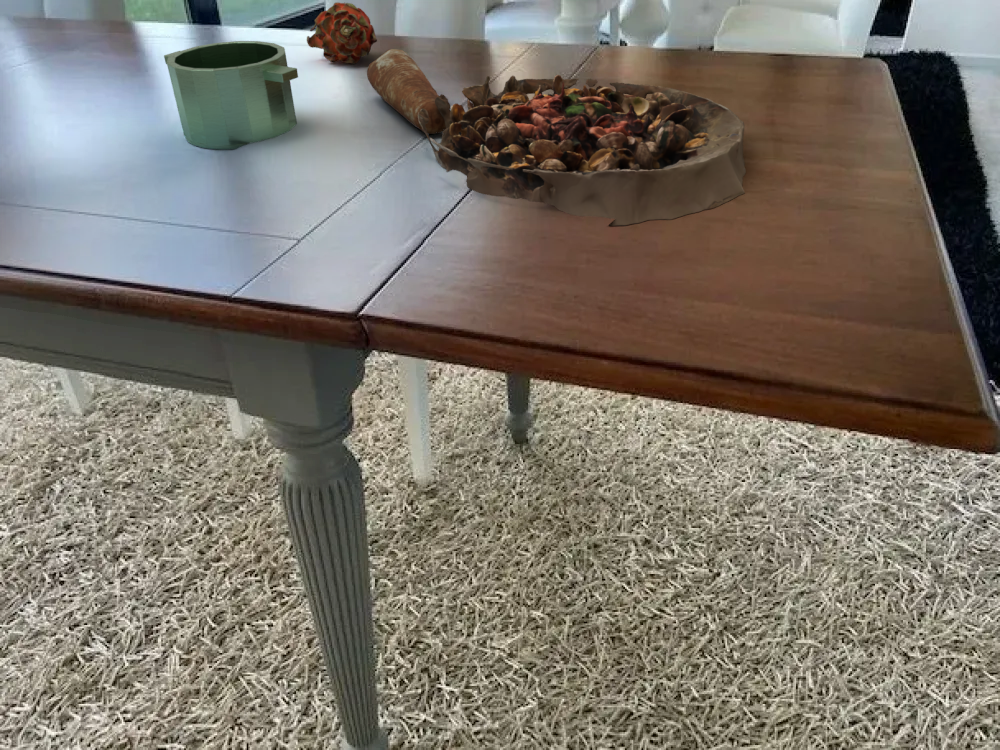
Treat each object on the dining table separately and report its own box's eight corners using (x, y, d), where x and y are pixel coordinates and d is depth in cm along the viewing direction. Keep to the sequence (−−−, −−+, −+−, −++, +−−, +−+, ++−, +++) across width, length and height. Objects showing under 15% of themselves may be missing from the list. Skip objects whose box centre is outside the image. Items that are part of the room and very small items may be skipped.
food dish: (387, 136, 99) (381, 66, 94) (640, 103, 108) (644, 39, 104) (494, 250, 71) (491, 158, 67) (821, 193, 80) (837, 109, 76)
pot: (261, 160, 91) (245, 79, 86) (145, 135, 98) (125, 59, 94) (337, 125, 99) (326, 50, 95) (225, 105, 107) (210, 34, 102)
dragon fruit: (366, 82, 120) (327, 77, 129) (401, 35, 121) (360, 34, 130) (323, 36, 114) (286, 34, 123) (361, -12, 115) (321, -10, 124)
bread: (415, 90, 110) (412, 45, 107) (458, 136, 95) (456, 85, 92) (367, 96, 109) (363, 50, 106) (403, 143, 94) (399, 92, 91)
